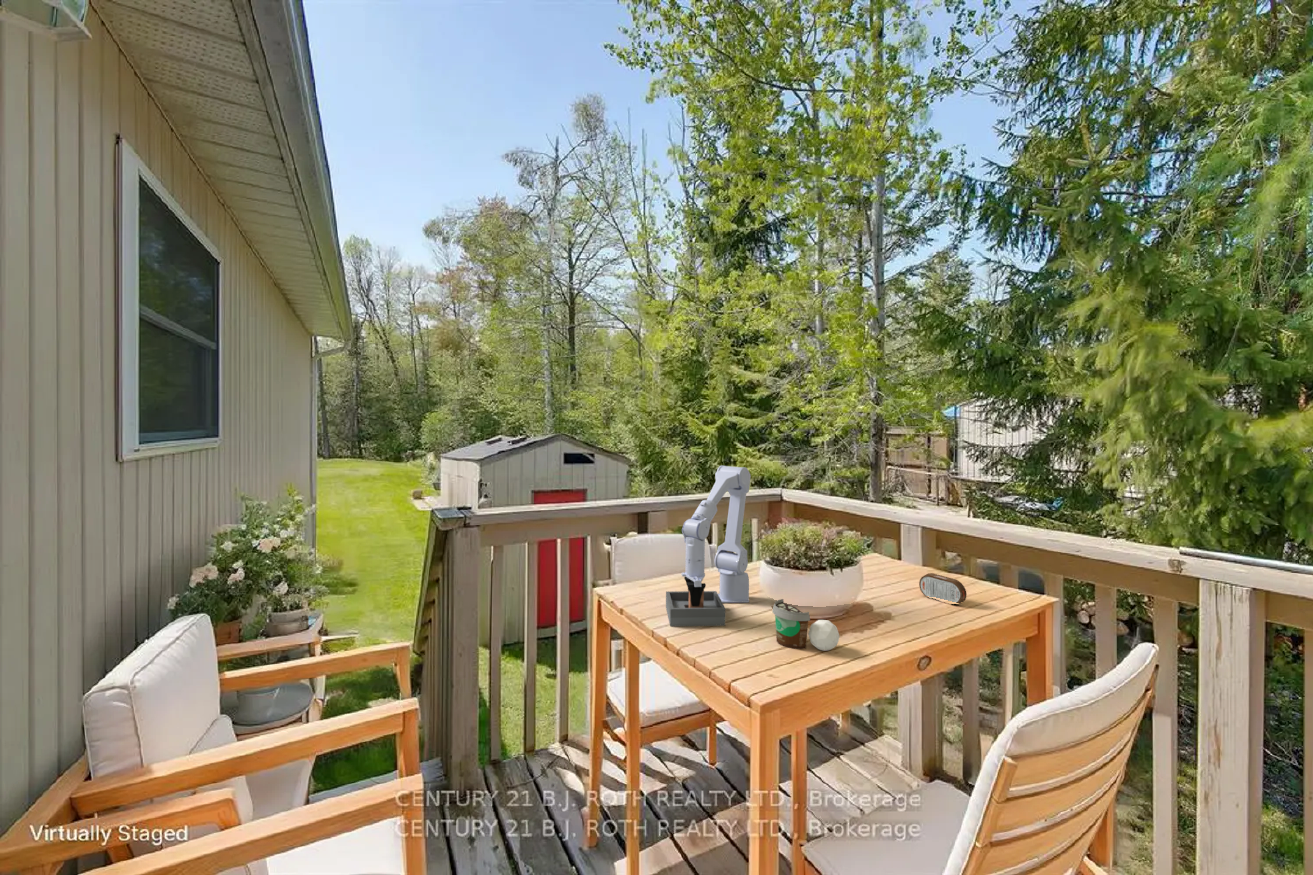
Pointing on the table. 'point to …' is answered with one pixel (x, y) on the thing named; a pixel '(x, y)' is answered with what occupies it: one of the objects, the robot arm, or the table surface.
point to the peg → (700, 602)
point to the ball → (823, 635)
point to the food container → (790, 625)
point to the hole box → (694, 610)
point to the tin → (942, 588)
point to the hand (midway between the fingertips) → (694, 603)
